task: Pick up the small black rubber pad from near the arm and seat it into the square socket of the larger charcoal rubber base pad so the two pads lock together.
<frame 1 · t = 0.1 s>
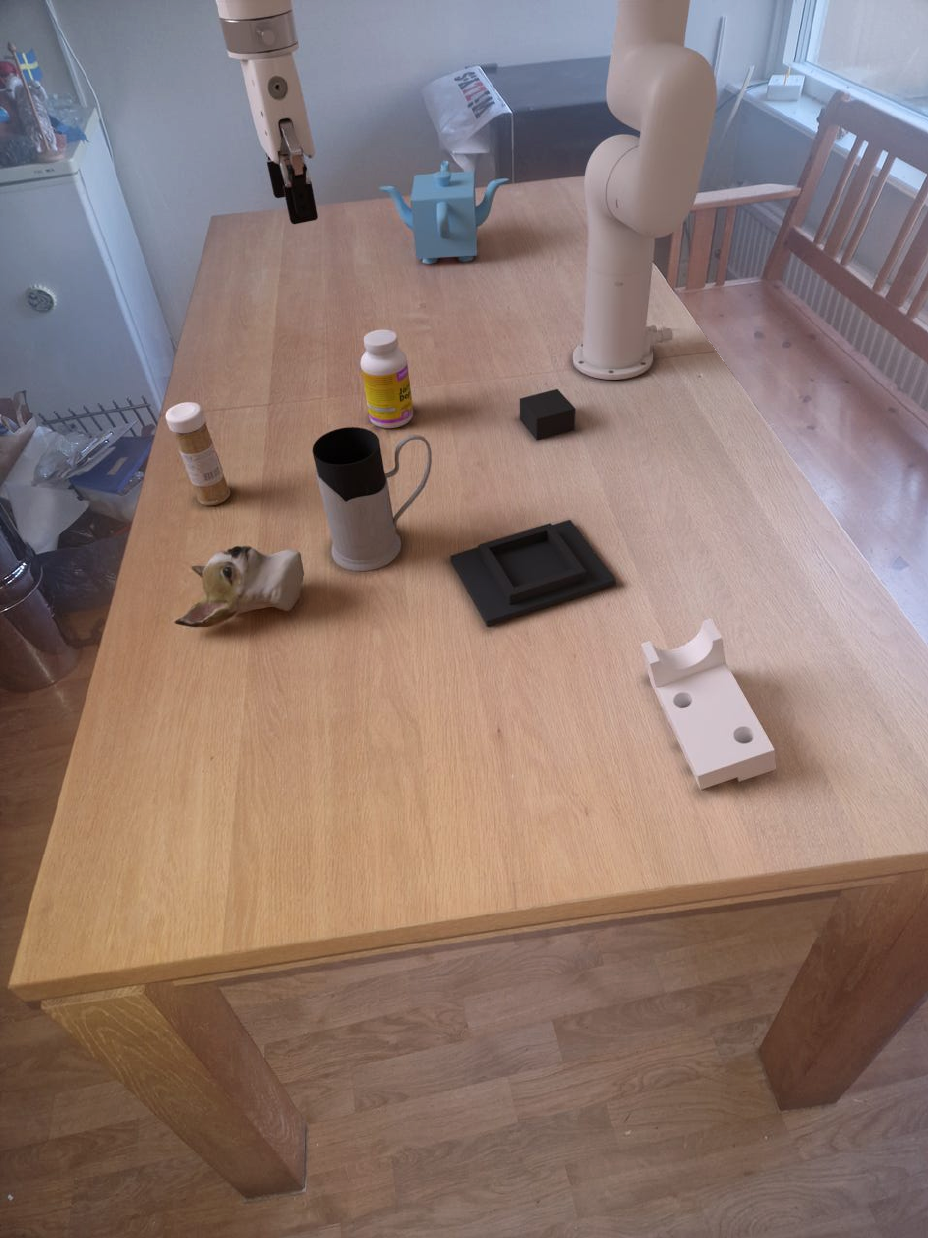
hand: (295, 207, 96), 31 cm above the table, tool pointing down, fingers open, 9 cm apart
bracket: (700, 729, 78), on the table
teakettle: (448, 251, 163), on the table
glass holder: (386, 542, 100), on the table
sprinkles bottle: (214, 498, 109), on the table
base pad: (531, 573, 94), on the table
supplement bottle: (392, 418, 120), on the table
black pad: (546, 424, 116), on the table
ceramic sculpture: (251, 604, 94), on the table
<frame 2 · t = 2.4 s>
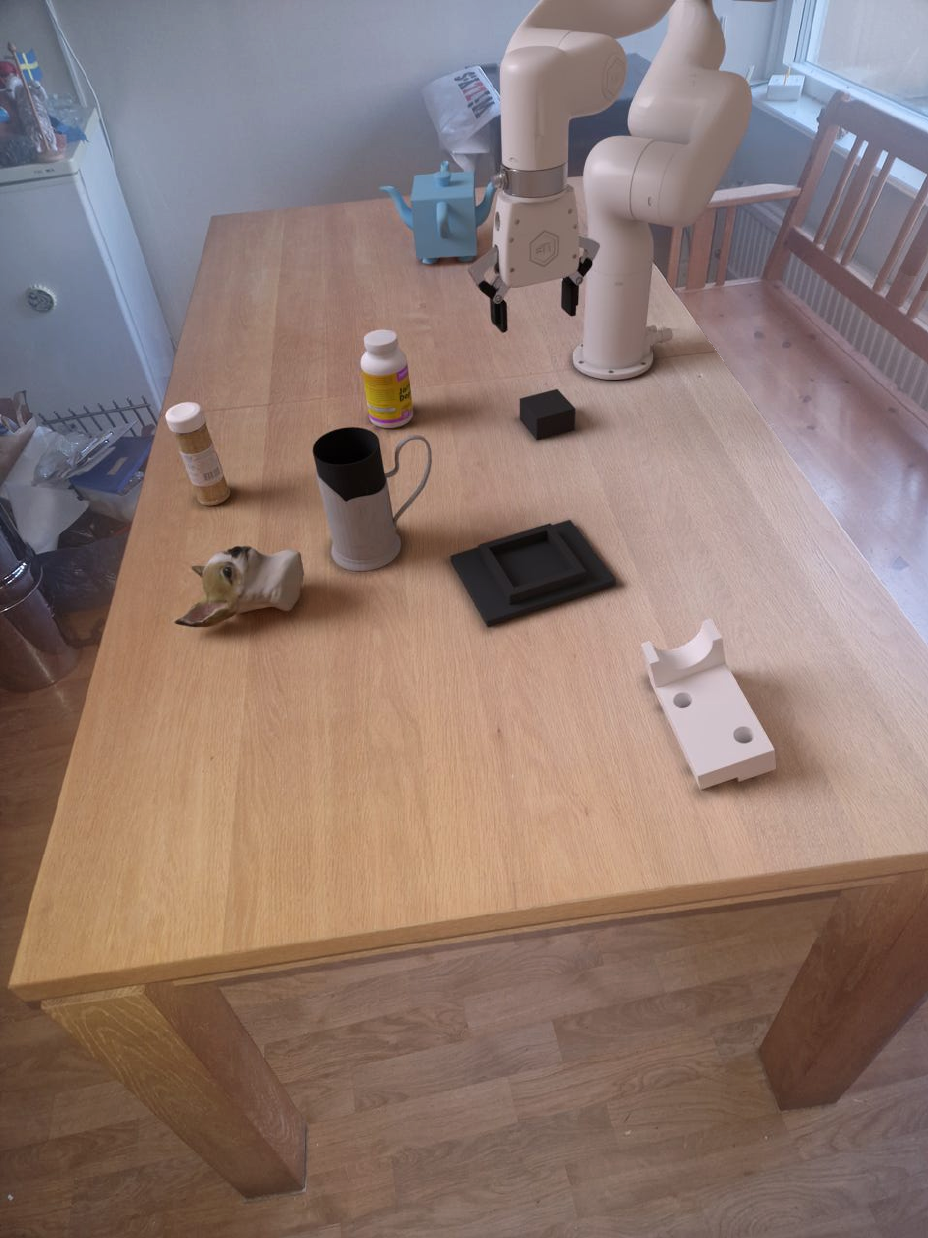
hand: (534, 320, 105), 16 cm above the table, tool pointing down, fingers open, 9 cm apart
nothing on the table moved.
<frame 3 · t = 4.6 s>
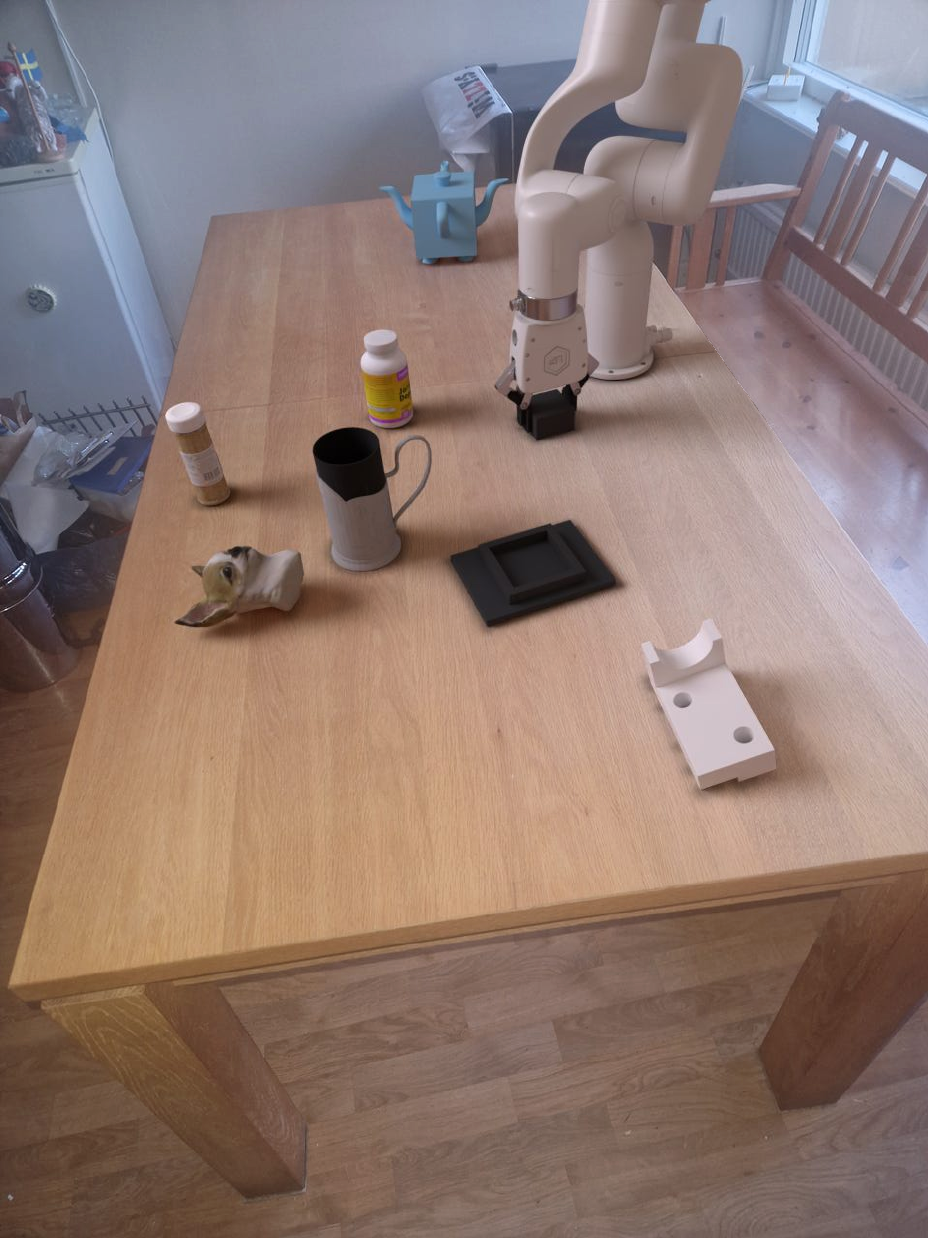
hand: (546, 421, 116), 1 cm above the table, tool pointing down, fingers closed on black pad, 6 cm apart
black pad: (546, 424, 116), on the table, touching gripper
everything else where it was.
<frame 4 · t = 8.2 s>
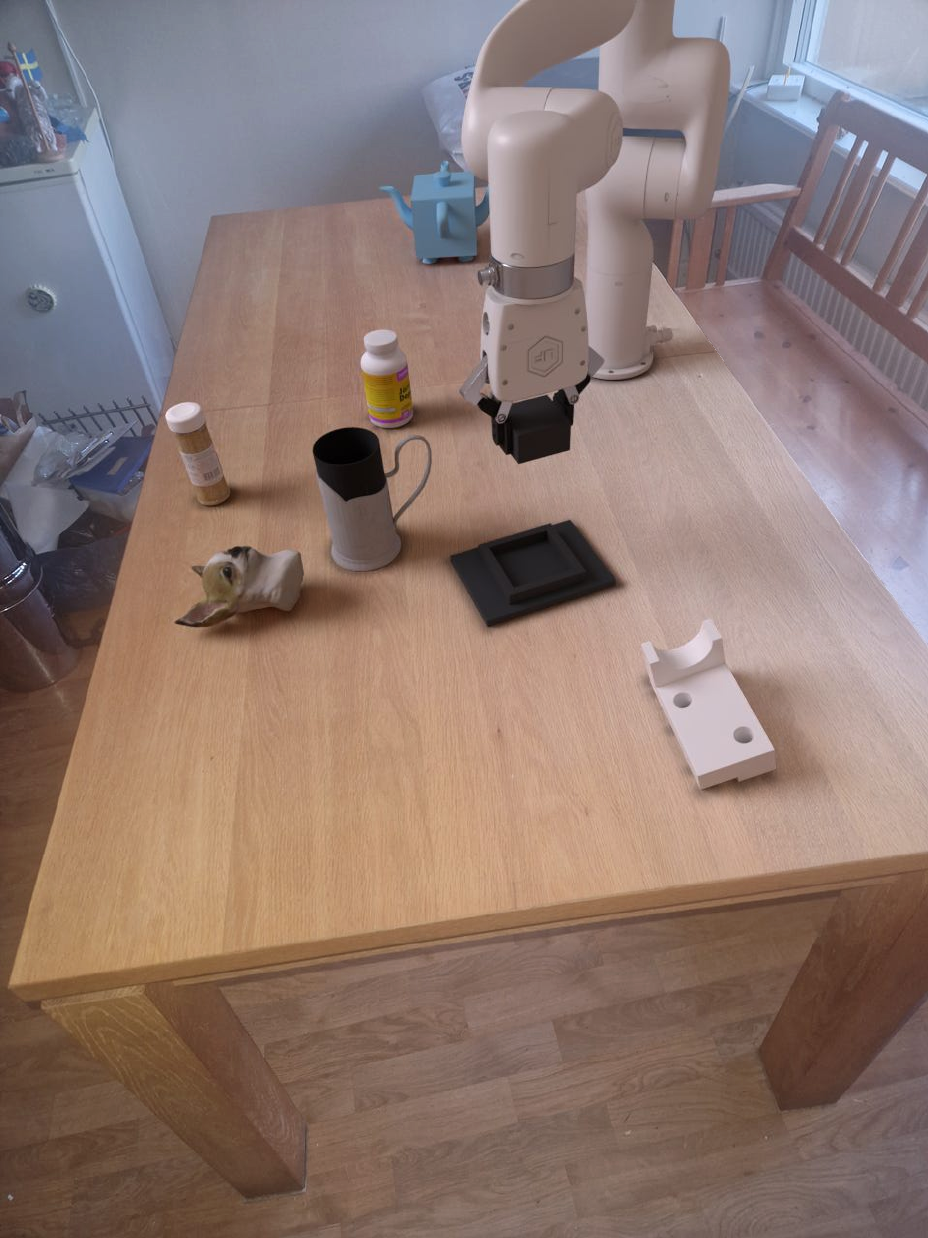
hand: (532, 438, 86), 16 cm above the table, tool pointing down, fingers closed on black pad, 6 cm apart
black pad: (532, 442, 86), point 15 cm above the table, touching gripper
everything else where it was.
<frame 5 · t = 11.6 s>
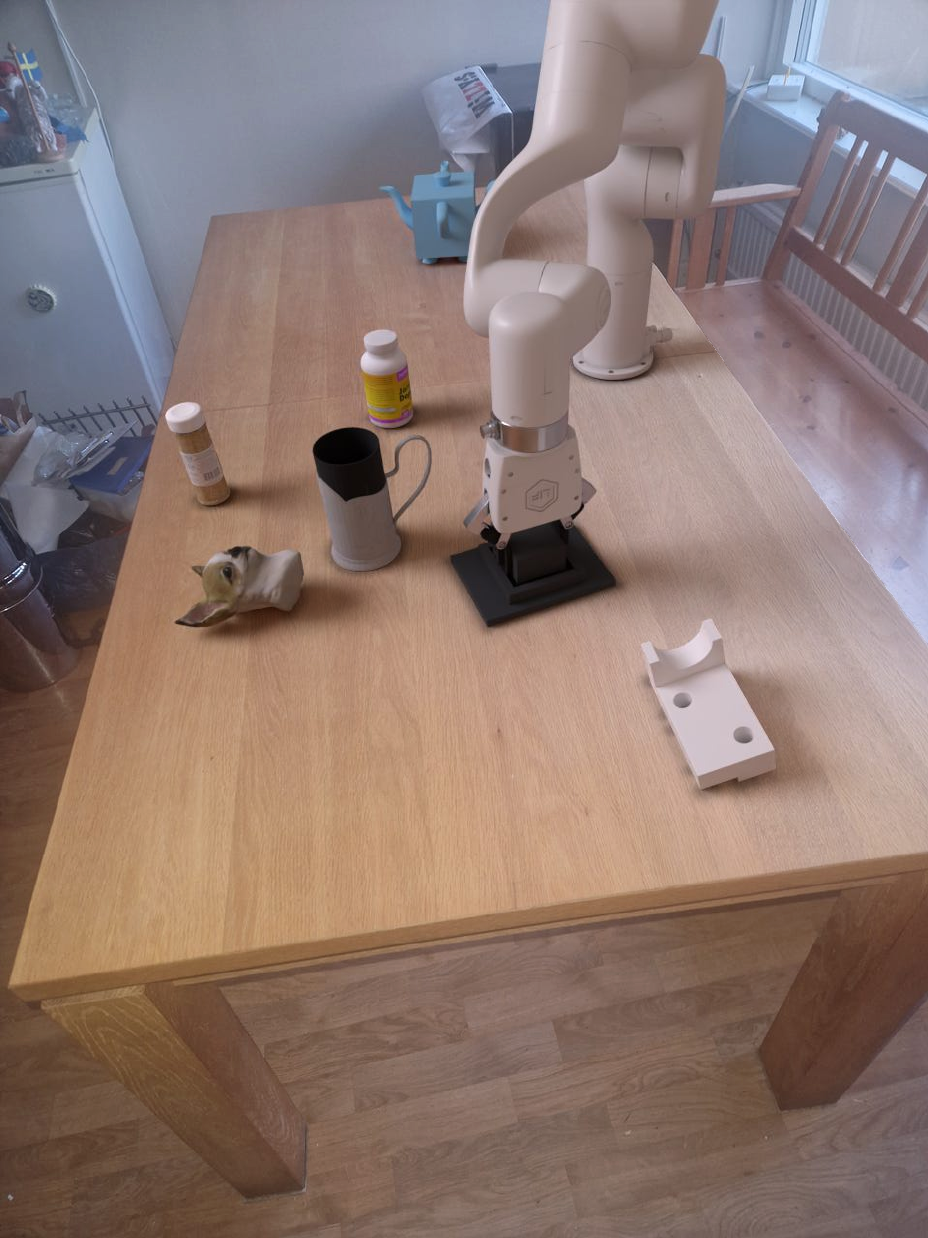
hand: (530, 557, 93), 3 cm above the table, tool pointing down, fingers closed on black pad, 6 cm apart
black pad: (530, 560, 93), point 2 cm above the table, touching gripper
everything else where it was.
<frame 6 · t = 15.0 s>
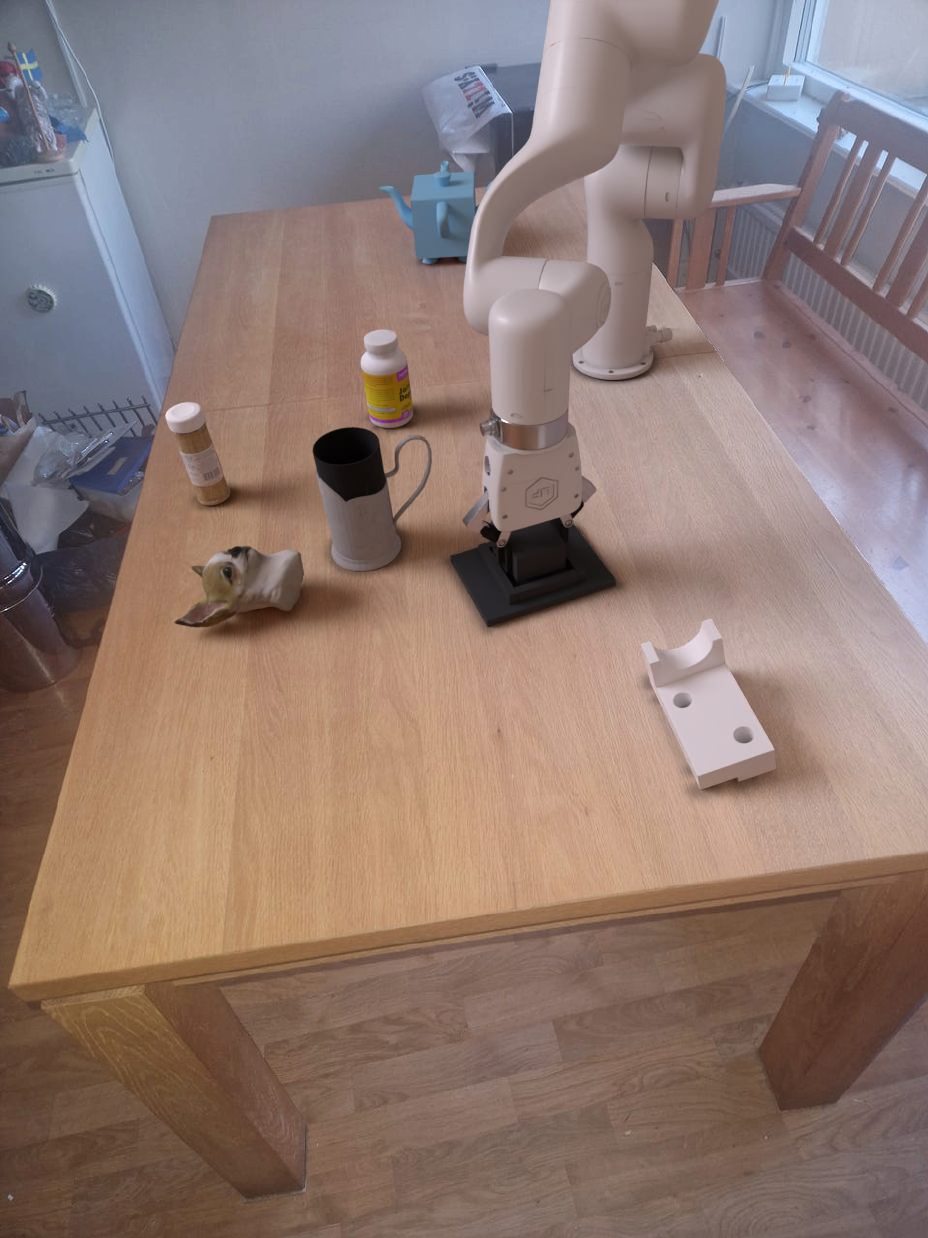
hand: (530, 555, 92), 3 cm above the table, tool pointing down, fingers closed on black pad, 6 cm apart
black pad: (530, 558, 93), point 2 cm above the table, touching gripper
everything else where it was.
when the fingers open (3 cm above the table, at t = 18.2 s): black pad drops 2 cm, resting on base pad.
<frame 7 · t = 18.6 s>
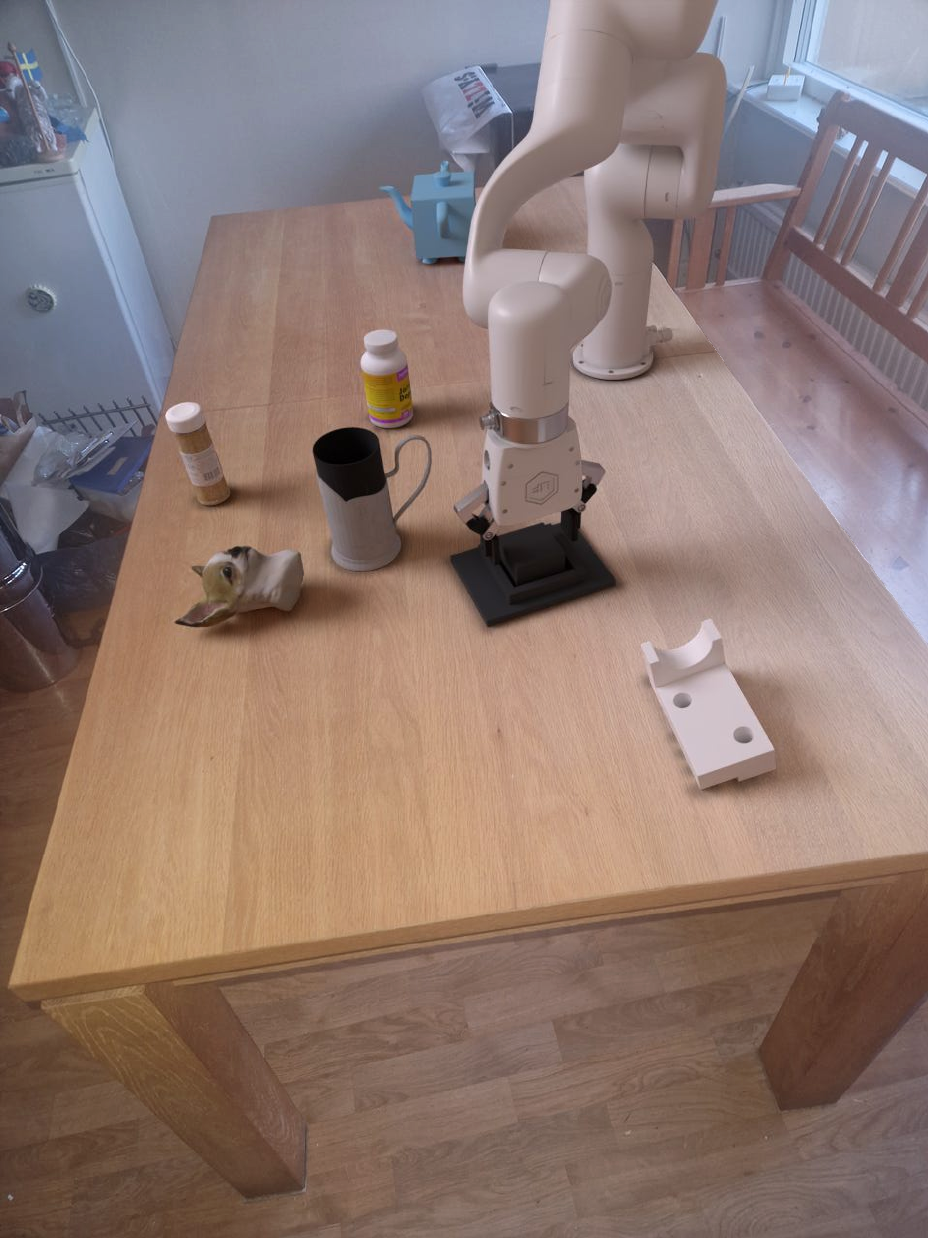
hand: (530, 545, 91), 4 cm above the table, tool pointing down, fingers open, 9 cm apart
black pad: (530, 566, 94), point 1 cm above the table, touching base pad
everything else where it was.
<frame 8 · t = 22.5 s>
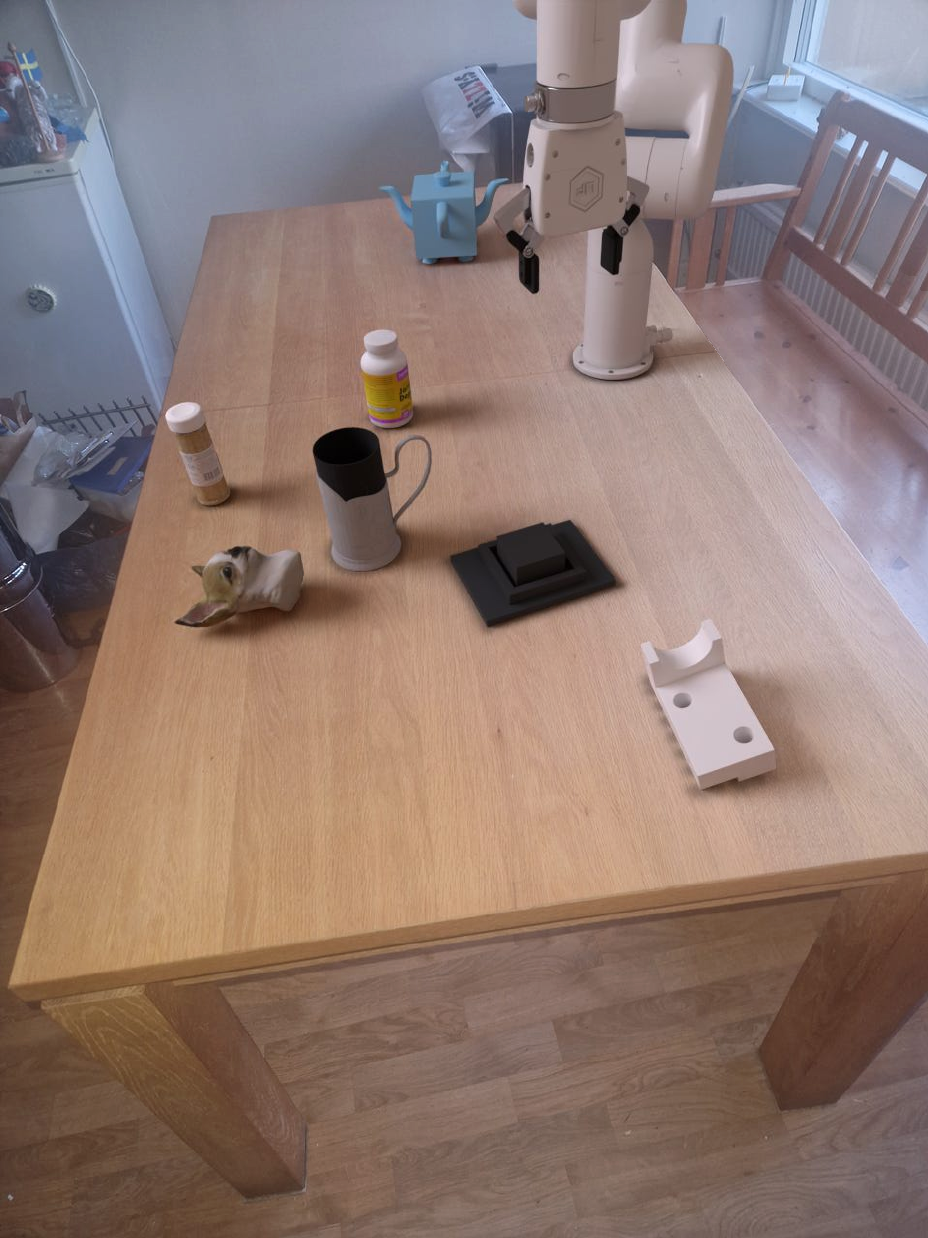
hand: (570, 279, 89), 26 cm above the table, tool pointing down, fingers open, 9 cm apart
nothing on the table moved.
at the end: black pad 0.1 cm off-centre on the base pad, point 1.0 cm above the base pad's base; black pad tilted 0°; the gripper is holding nothing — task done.
